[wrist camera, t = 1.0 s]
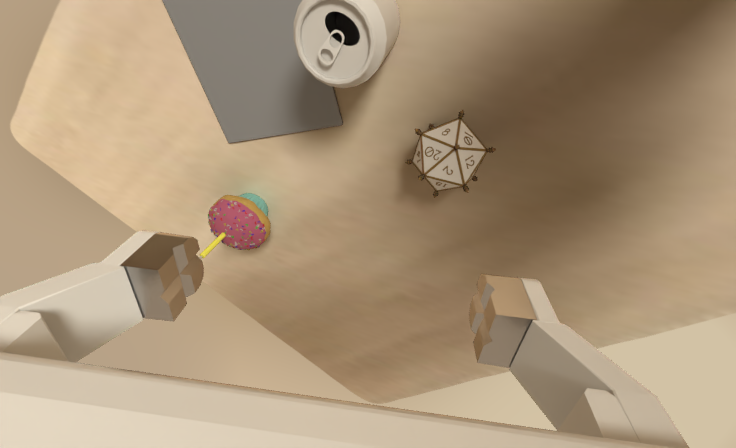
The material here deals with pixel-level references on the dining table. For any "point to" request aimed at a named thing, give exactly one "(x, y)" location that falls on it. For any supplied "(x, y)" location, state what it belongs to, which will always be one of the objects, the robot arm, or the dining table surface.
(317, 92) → the mat
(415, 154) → the game die
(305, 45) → the can
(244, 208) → the cupcake
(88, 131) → the dining table surface
